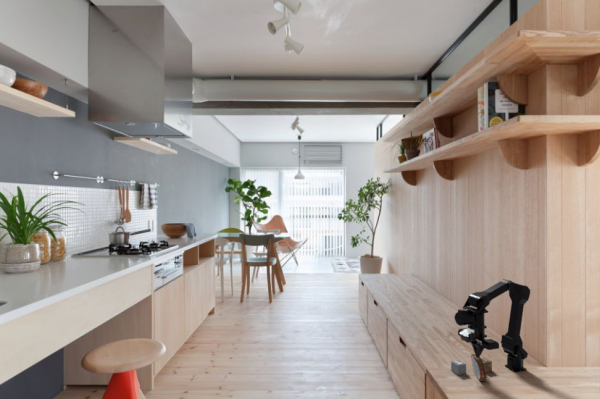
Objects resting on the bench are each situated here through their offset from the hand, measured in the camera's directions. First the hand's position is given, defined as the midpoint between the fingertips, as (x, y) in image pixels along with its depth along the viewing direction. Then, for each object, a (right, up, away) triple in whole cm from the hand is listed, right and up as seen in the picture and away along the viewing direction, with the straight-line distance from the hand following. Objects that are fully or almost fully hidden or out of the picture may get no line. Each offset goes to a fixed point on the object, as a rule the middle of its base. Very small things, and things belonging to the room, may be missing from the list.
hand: (477, 357), depth 163 cm
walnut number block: (+6, -9, +6) cm, 12 cm away
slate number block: (-7, -9, +4) cm, 12 cm away
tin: (0, -9, 0) cm, 9 cm away
